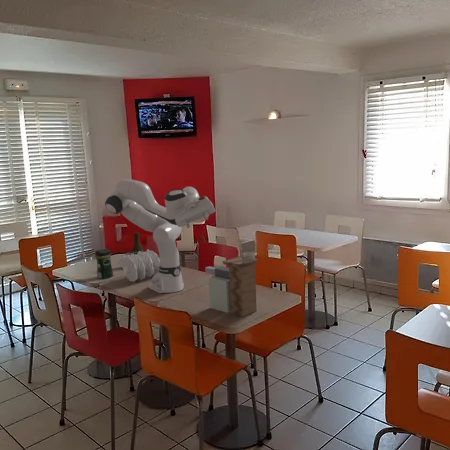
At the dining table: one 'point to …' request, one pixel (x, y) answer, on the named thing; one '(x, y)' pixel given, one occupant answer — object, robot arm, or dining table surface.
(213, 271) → the plug
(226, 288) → the sage step
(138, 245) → the beer bottle
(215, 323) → the dining table surface
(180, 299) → the dining table surface
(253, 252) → the brown wooden tower
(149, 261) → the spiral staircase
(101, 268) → the coffee jar
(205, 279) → the dining table surface
